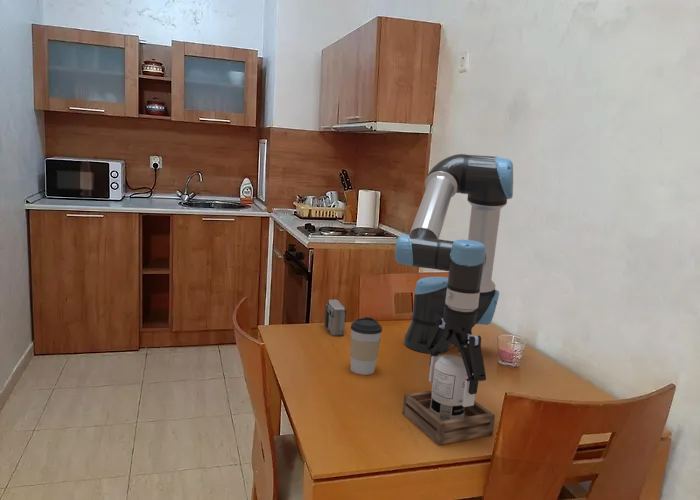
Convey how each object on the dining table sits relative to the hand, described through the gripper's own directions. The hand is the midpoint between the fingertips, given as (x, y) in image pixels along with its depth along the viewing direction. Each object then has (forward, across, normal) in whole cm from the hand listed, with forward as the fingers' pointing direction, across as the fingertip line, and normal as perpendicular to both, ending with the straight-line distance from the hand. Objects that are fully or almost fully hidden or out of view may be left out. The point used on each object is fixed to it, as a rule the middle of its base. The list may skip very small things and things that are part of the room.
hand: (450, 392), depth 133 cm
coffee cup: (+8, -34, -5) cm, 36 cm away
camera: (+8, -67, +1) cm, 68 cm away
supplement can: (+7, 0, 0) cm, 7 cm away
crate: (+8, 0, 0) cm, 8 cm away
